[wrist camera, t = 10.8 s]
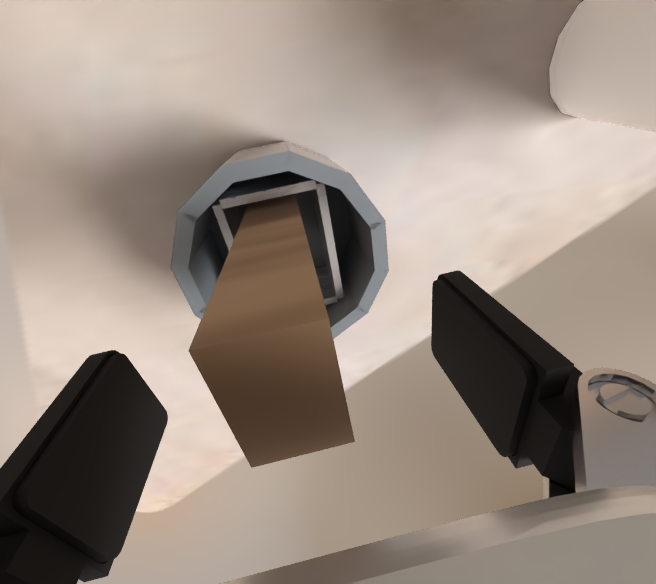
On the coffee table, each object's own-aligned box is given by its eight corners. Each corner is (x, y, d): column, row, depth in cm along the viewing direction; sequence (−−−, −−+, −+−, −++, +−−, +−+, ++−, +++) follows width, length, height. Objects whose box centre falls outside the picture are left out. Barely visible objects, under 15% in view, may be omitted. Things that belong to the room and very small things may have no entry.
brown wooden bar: (252, 194, 17) (188, 350, 5) (292, 186, 17) (329, 318, 5) (268, 250, 19) (251, 467, 7) (305, 242, 19) (354, 441, 7)
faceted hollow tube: (174, 163, 16) (128, 184, 11) (347, 128, 17) (378, 132, 12) (234, 307, 21) (221, 366, 16) (365, 277, 22) (392, 326, 17)
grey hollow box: (223, 185, 17) (210, 201, 13) (313, 166, 17) (323, 178, 13) (258, 286, 20) (255, 321, 17) (332, 270, 20) (344, 300, 17)
